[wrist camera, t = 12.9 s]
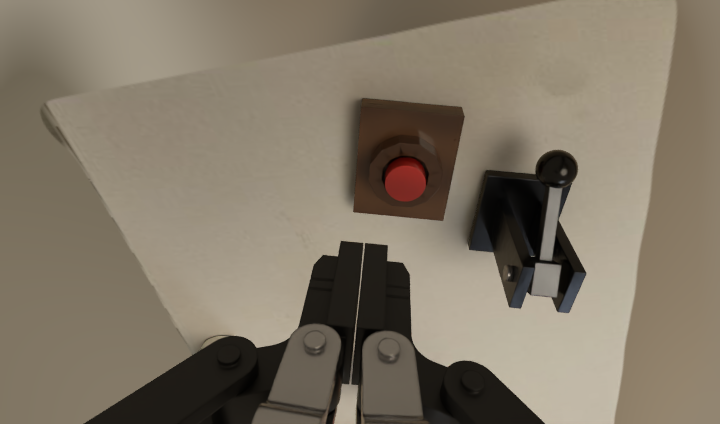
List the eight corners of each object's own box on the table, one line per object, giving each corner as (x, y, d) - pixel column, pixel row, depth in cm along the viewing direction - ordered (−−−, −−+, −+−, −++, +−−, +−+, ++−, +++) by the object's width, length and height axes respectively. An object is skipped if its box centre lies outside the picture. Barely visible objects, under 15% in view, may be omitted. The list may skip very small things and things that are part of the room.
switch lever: (532, 148, 39) (546, 147, 35) (570, 152, 39) (587, 151, 35) (513, 285, 40) (525, 296, 37) (550, 289, 40) (565, 300, 37)
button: (387, 154, 40) (386, 163, 39) (427, 158, 40) (429, 167, 39) (383, 190, 42) (382, 199, 41) (422, 193, 42) (422, 203, 41)
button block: (362, 97, 41) (359, 113, 38) (461, 107, 41) (467, 123, 38) (355, 200, 47) (351, 222, 44) (441, 209, 47) (444, 231, 44)
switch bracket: (485, 169, 44) (511, 241, 34) (568, 177, 44) (617, 252, 34) (467, 243, 49) (485, 324, 39) (541, 250, 49) (578, 334, 39)
